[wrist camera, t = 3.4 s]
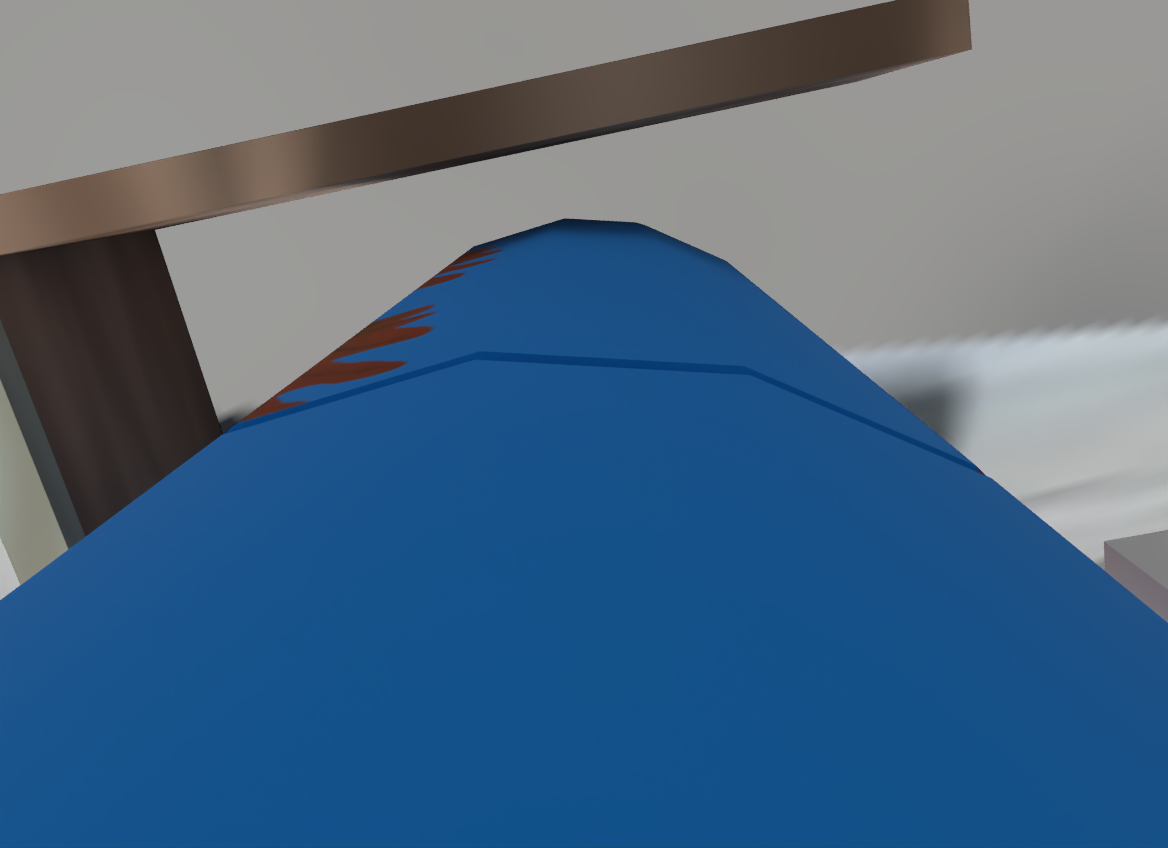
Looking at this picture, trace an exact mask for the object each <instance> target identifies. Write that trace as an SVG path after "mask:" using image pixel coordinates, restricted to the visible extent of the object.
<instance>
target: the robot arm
mask: <svg viewBox="0 0 1168 848" xmlns="http://www.w3.org/2000/svg"><path fill="white" fill-rule="evenodd" d="M1104 555H1105V572H1106V573H1108V574H1109V575H1110V576H1111V577H1113V578H1114V579H1115V580H1116V581H1117V582H1119V583H1120V584H1121V585H1122V586H1124V587H1125V588H1126V589H1127V590H1128V591H1130V592H1131V593H1132V594H1133V595H1135V596H1136V597H1137V598H1138V599H1139V600H1141V601H1142V602H1143V603H1144V604H1146V605H1147V606H1148V607H1149V608H1150V609H1152V610H1153V611H1154V612H1155V613H1156V614H1158V615H1159V616H1160V617H1161V618H1163V619H1164V620H1165V621H1166V622H1167V623H1168V530H1166V531H1160V532H1155V533H1149V534H1143V535H1138V536H1132V537H1126V538H1121V539H1115V540H1109V541H1104Z"/></svg>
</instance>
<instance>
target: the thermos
mask: <svg viewBox="0 0 1168 848" xmlns="http://www.w3.org/2000/svg"><path fill="white" fill-rule="evenodd" d="M0 848H1168V623H1167V622H1166V621H1165V620H1164V619H1163V618H1161V617H1160V616H1159V615H1158V614H1156V613H1155V612H1154V611H1153V610H1152V609H1150V608H1149V607H1148V606H1147V605H1146V604H1144V603H1143V602H1142V601H1141V600H1139V599H1138V598H1137V597H1136V596H1135V595H1133V594H1132V593H1131V592H1130V591H1128V590H1127V589H1126V588H1125V587H1124V586H1122V585H1121V584H1120V583H1119V582H1117V581H1116V580H1115V579H1114V578H1113V577H1111V576H1110V575H1109V574H1108V573H1106V572H1105V571H1104V570H1103V569H1102V568H1100V567H1099V566H1098V565H1097V564H1095V563H1094V562H1093V561H1092V560H1091V559H1089V558H1088V557H1087V556H1086V555H1084V554H1083V553H1082V552H1081V551H1080V550H1078V549H1077V548H1076V547H1075V546H1073V545H1072V544H1071V543H1070V542H1069V541H1067V540H1066V539H1065V538H1064V537H1062V536H1061V535H1060V534H1059V533H1058V532H1056V531H1055V530H1054V529H1053V528H1052V527H1050V526H1049V525H1048V524H1047V523H1045V522H1044V521H1043V520H1042V519H1041V518H1039V517H1038V516H1037V515H1036V514H1034V513H1033V512H1032V511H1031V510H1030V509H1028V508H1027V507H1026V506H1025V505H1023V504H1022V503H1021V502H1020V501H1019V500H1017V499H1016V498H1015V497H1014V496H1012V495H1011V494H1010V493H1009V492H1008V491H1006V490H1005V489H1004V488H1003V487H1001V486H1000V485H999V484H998V483H997V482H995V481H994V480H993V479H992V478H990V477H987V476H986V475H985V474H984V473H983V472H982V471H981V470H980V469H979V468H978V467H977V466H976V465H975V464H973V463H972V462H971V461H970V460H968V459H967V458H966V457H965V456H964V455H962V454H961V453H960V452H959V451H957V450H956V449H955V448H954V447H953V446H951V445H950V444H949V443H948V442H947V441H945V440H944V439H943V438H942V437H940V436H939V435H938V434H937V433H936V432H934V431H933V430H932V429H931V428H929V427H928V426H927V425H926V424H925V423H923V422H922V421H921V420H920V419H918V418H917V417H916V416H915V415H914V414H912V413H911V412H910V411H909V410H907V409H906V408H905V407H904V406H903V405H901V404H900V403H899V402H898V401H896V400H895V399H894V398H893V397H892V396H890V395H889V394H888V393H887V392H885V391H884V390H883V389H882V388H881V387H879V386H878V385H877V384H876V383H874V382H873V381H872V380H871V379H870V378H868V377H867V376H866V375H865V374H863V373H862V372H861V371H860V370H859V369H857V368H856V367H855V366H854V365H853V364H851V363H850V362H849V361H848V360H846V359H845V358H844V357H843V356H842V355H840V354H839V353H838V352H837V351H835V350H834V349H833V348H832V347H831V346H829V345H828V344H827V343H826V342H824V341H823V340H822V339H821V338H819V337H818V336H817V335H816V334H815V333H813V332H812V331H811V330H810V329H809V328H807V327H806V326H805V325H804V324H802V323H801V322H800V321H799V320H798V319H796V318H795V317H794V316H793V315H791V314H790V313H789V312H788V311H786V310H785V309H784V308H783V307H782V306H780V305H779V304H778V303H777V302H776V301H774V300H773V299H772V298H771V297H769V296H768V295H767V294H766V293H765V292H763V291H762V290H761V289H760V288H759V287H757V286H756V285H755V284H754V283H752V282H751V281H750V280H749V279H748V278H746V277H745V276H744V275H743V274H741V273H740V272H739V271H738V270H737V269H735V268H734V267H733V266H732V265H730V264H729V263H728V262H727V261H725V260H723V259H720V258H718V257H716V256H714V255H711V254H709V253H707V252H704V251H702V250H700V249H698V248H696V247H693V246H691V245H689V244H686V243H684V242H682V241H679V240H677V239H675V238H673V237H670V236H668V235H666V234H664V233H661V232H659V231H657V230H655V229H652V228H650V227H648V226H645V225H642V224H639V223H634V222H617V221H600V220H599V221H598V220H582V219H562V220H558V221H555V222H552V223H548V224H545V225H542V226H539V227H535V228H532V229H529V230H526V231H523V232H519V233H516V234H513V235H510V236H506V237H503V238H500V239H497V240H494V241H490V242H487V243H484V244H481V245H477V246H474V247H473V248H471V249H470V250H469V251H467V252H466V253H465V254H463V255H462V256H461V257H459V258H458V259H456V260H455V261H454V262H453V263H451V264H450V265H448V266H447V267H446V268H445V269H443V270H442V271H440V272H439V273H438V274H437V275H435V276H434V277H432V278H431V279H430V280H428V281H427V282H426V283H424V284H423V285H422V286H420V287H419V288H418V289H416V290H415V291H414V292H413V293H411V294H410V295H408V296H407V297H406V298H405V299H403V300H402V301H400V302H399V303H398V304H396V305H395V306H394V307H392V308H391V309H390V310H388V311H387V312H386V313H384V314H383V315H382V316H380V317H379V318H378V319H376V320H375V321H374V322H372V323H371V324H370V325H368V326H367V327H366V328H364V329H363V330H361V331H360V332H359V333H358V334H356V335H355V336H353V337H352V338H351V339H349V340H348V341H347V342H346V343H344V344H343V345H341V346H340V347H339V348H337V349H336V350H335V351H334V352H332V353H331V354H329V355H328V356H327V357H326V358H324V359H323V360H321V361H320V362H319V363H318V364H316V365H315V366H313V367H312V368H311V369H309V370H308V371H307V372H305V373H304V374H303V375H301V376H300V377H299V378H297V379H296V380H295V381H293V382H292V383H291V384H289V385H288V386H287V387H285V388H284V389H283V390H281V391H280V392H279V393H277V394H276V395H275V396H273V397H272V398H271V399H269V400H268V401H266V402H265V403H264V404H262V405H261V406H260V407H258V408H257V409H256V410H254V411H253V412H252V413H250V414H249V415H248V416H246V417H245V418H244V419H242V420H241V421H240V422H238V423H237V424H236V425H235V426H233V427H232V428H231V429H229V430H228V431H227V432H226V433H224V434H223V435H221V436H220V437H218V438H217V439H216V440H214V441H213V442H212V443H210V444H209V445H208V446H206V447H205V448H204V449H202V450H201V451H200V452H198V453H197V454H196V455H194V456H193V457H192V458H190V459H189V460H188V461H186V462H185V463H184V464H182V465H181V466H180V467H178V468H177V469H176V470H174V471H173V472H171V473H170V474H169V475H167V476H166V477H165V478H163V479H162V480H161V481H159V482H158V483H157V484H155V485H154V486H153V487H151V488H150V489H149V490H147V491H146V492H145V493H143V494H142V495H141V496H139V497H138V498H137V499H135V500H134V501H133V502H131V503H130V504H129V505H127V506H126V507H125V508H123V509H122V510H121V511H119V512H118V513H117V514H115V515H114V516H113V517H111V518H110V519H109V520H107V521H106V522H105V523H103V524H102V525H101V526H99V527H98V528H97V529H95V530H94V531H93V532H91V533H90V534H89V535H87V536H86V537H85V538H83V539H82V540H81V541H79V542H78V543H76V544H75V545H74V546H72V547H71V548H70V549H68V550H67V551H66V552H64V553H63V554H62V555H60V556H59V557H58V558H56V559H55V560H54V561H52V562H51V563H50V564H48V565H47V566H46V567H44V568H43V569H42V570H40V571H39V572H38V573H36V574H35V575H34V576H32V577H31V578H30V579H28V580H27V581H26V582H24V583H23V584H22V585H20V586H19V587H18V588H16V589H15V590H14V591H12V592H11V593H10V594H8V595H7V596H6V597H4V598H3V599H2V600H0Z"/></svg>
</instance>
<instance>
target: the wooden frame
mask: <svg viewBox="0 0 1168 848" xmlns="http://www.w3.org/2000/svg"><path fill="white" fill-rule="evenodd" d="M971 49H972V45H971V31H970V16H969V2H968V0H895V1H891V2H887V3H881V4H877V5H872V6H868V7H863V8H858V9H854V10H849V11H845V12H840V13H836V14H831V15H826V16H822V17H817V18H812V19H808V20H803V21H799V22H794V23H790V24H785V25H780V26H775V27H771V28H766V29H762V30H757V31H753V32H748V33H744V34H738V35H734V36H729V37H724V38H720V39H715V40H711V41H706V42H702V43H697V44H693V45H688V46H683V47H678V48H674V49H669V50H665V51H660V52H655V53H651V54H646V55H642V56H637V57H632V58H628V59H623V60H619V61H614V62H609V63H605V64H600V65H596V66H591V67H586V68H582V69H577V70H572V71H568V72H563V73H558V74H554V75H550V76H544V77H540V78H535V79H531V80H526V81H522V82H517V83H513V84H508V85H503V86H498V87H494V88H489V89H484V90H480V91H475V92H471V93H466V94H461V95H457V96H453V97H448V98H443V99H438V100H434V101H429V102H425V103H420V104H415V105H411V106H406V107H401V108H397V109H392V110H388V111H384V112H378V113H374V114H369V115H365V116H360V117H355V118H351V119H346V120H341V121H337V122H333V123H328V124H323V125H318V126H314V127H309V128H304V129H300V130H295V131H291V132H286V133H282V134H277V135H272V136H268V137H263V138H259V139H254V140H249V141H245V142H240V143H235V144H231V145H226V146H221V147H217V148H212V149H208V150H203V151H199V152H194V153H189V154H184V155H180V156H175V157H171V158H166V159H161V160H157V161H152V162H147V163H143V164H138V165H134V166H130V167H125V168H120V169H115V170H111V171H106V172H101V173H97V174H92V175H87V176H83V177H78V178H74V179H69V180H65V181H60V182H56V183H51V184H46V185H42V186H37V187H32V188H28V189H23V190H18V191H14V192H9V193H5V194H0V537H1V540H2V542H3V544H4V547H5V549H6V551H7V554H8V556H9V559H10V561H11V563H12V566H13V568H14V570H15V573H16V575H17V578H18V580H19V582H20V585H22V584H23V583H24V582H26V581H27V580H28V579H30V578H31V577H32V576H34V575H35V574H36V573H38V572H39V571H40V570H42V569H43V568H44V567H46V566H47V565H48V564H50V563H51V562H52V561H54V560H55V559H56V558H58V557H59V556H60V555H62V554H63V553H64V552H66V551H67V550H68V549H70V548H71V547H72V546H74V545H75V544H76V543H78V542H79V541H81V540H82V539H83V538H85V537H86V536H87V535H89V534H90V533H91V532H93V531H94V530H95V529H97V528H98V527H99V526H101V525H102V524H103V523H105V522H106V521H107V520H109V519H110V518H111V517H113V516H114V515H115V514H117V513H118V512H119V511H121V510H122V509H123V508H125V507H126V506H127V505H129V504H130V503H131V502H133V501H134V500H135V499H137V498H138V497H139V496H141V495H142V494H143V493H145V492H146V491H147V490H149V489H150V488H151V487H153V486H154V485H155V484H157V483H158V482H159V481H161V480H162V479H163V478H165V477H166V476H167V475H169V474H170V473H171V472H173V471H174V470H176V469H177V468H178V467H180V466H181V465H182V464H184V463H185V462H186V461H188V460H189V459H190V458H192V457H193V456H194V455H196V454H197V453H198V452H200V451H201V450H202V449H204V448H205V447H206V446H208V445H209V444H210V443H212V442H213V441H214V440H216V439H217V438H218V437H220V436H221V435H223V434H222V431H221V428H220V425H219V422H218V419H217V416H216V413H215V410H214V407H213V404H212V401H211V398H210V395H209V392H208V389H207V386H206V383H205V380H204V377H203V374H202V371H201V368H200V365H199V362H198V359H197V356H196V353H195V350H194V347H193V344H192V341H191V338H190V335H189V332H188V329H187V326H186V323H185V320H184V317H183V314H182V311H181V308H180V305H179V302H178V299H177V295H176V293H175V289H174V286H173V283H172V280H171V277H170V275H169V272H168V269H167V265H166V262H165V260H164V256H163V253H162V250H161V247H160V244H159V242H158V239H157V235H156V232H155V230H156V229H161V228H165V227H169V226H175V225H179V224H184V223H189V222H194V221H198V220H203V219H207V218H213V217H217V216H222V215H227V214H231V213H236V212H241V211H246V210H251V209H255V208H260V207H265V206H269V205H274V204H279V203H284V202H289V201H293V200H298V199H303V198H307V197H312V196H316V195H322V194H326V193H331V192H336V191H340V190H345V189H350V188H354V187H360V186H364V185H369V184H374V183H378V182H383V181H388V180H393V179H398V178H402V177H407V176H412V175H417V174H421V173H426V172H431V171H435V170H440V169H445V168H450V167H454V166H458V165H464V164H469V163H473V162H478V161H483V160H487V159H492V158H497V157H501V156H507V155H511V154H516V153H521V152H525V151H530V150H535V149H540V148H545V147H549V146H554V145H559V144H563V143H568V142H573V141H578V140H582V139H587V138H592V137H597V136H601V135H606V134H610V133H615V132H620V131H625V130H629V129H635V128H639V127H644V126H649V125H653V124H658V123H663V122H668V121H672V120H677V119H682V118H687V117H691V116H696V115H700V114H706V113H710V112H715V111H720V110H725V109H729V108H734V107H739V106H744V105H748V104H753V103H758V102H762V101H767V100H772V99H777V98H781V97H786V96H791V95H795V94H800V93H805V92H810V91H815V90H820V89H824V88H829V87H834V86H838V85H843V84H848V83H852V82H857V81H860V80H864V79H868V78H871V77H875V76H878V75H882V74H885V73H889V72H892V71H896V70H900V69H903V68H906V67H910V66H914V65H917V64H921V63H924V62H928V61H931V60H935V59H939V58H942V57H945V56H949V55H953V54H956V53H960V52H963V51H967V50H971Z"/></svg>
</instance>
